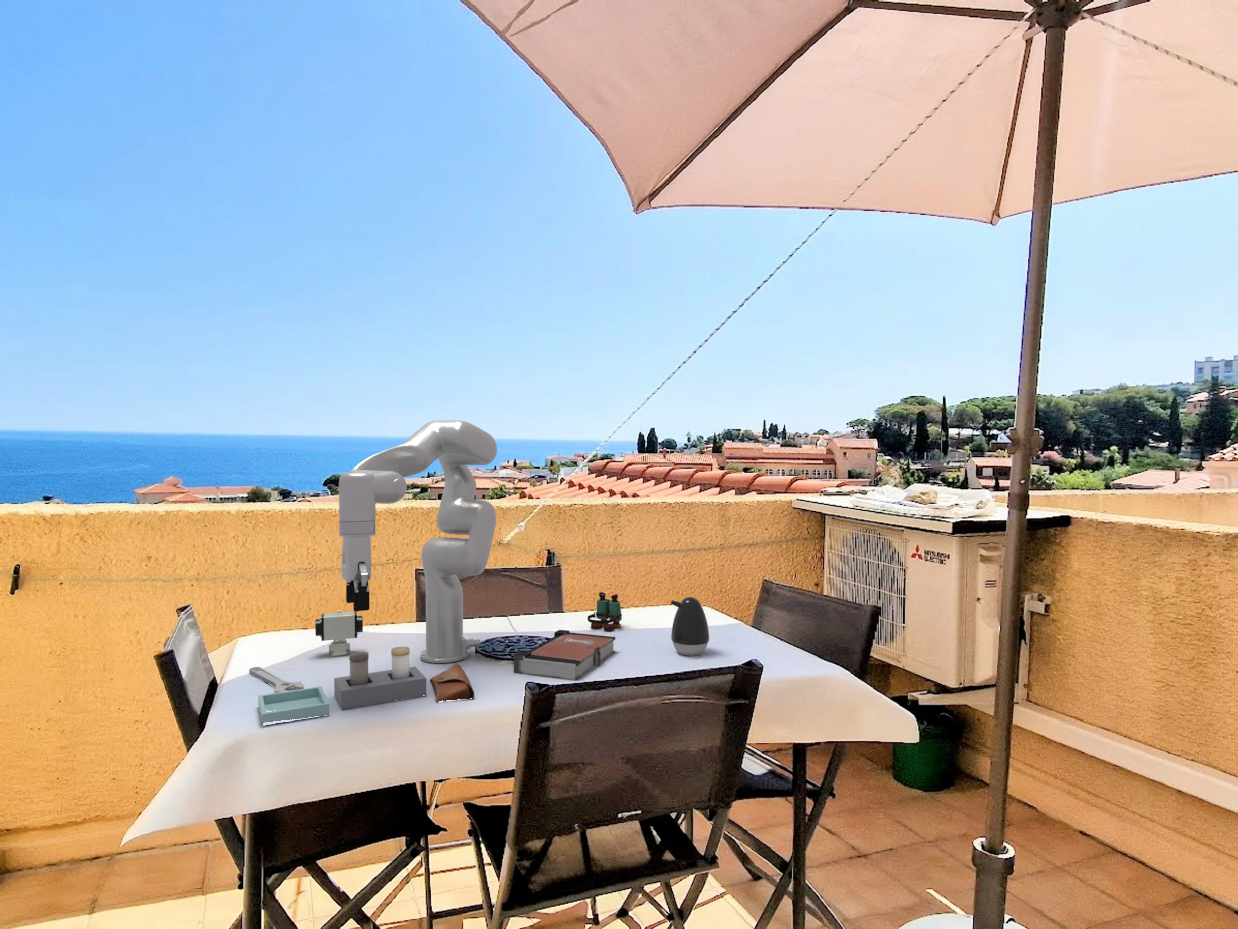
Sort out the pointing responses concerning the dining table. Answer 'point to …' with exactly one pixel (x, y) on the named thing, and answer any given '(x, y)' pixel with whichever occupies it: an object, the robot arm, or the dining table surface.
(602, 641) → the book
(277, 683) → the adjustable wrench
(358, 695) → the block
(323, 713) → the parts tray
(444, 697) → the sunglasses case
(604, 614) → the green twin tank jetpack
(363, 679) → the cylinder
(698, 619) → the pump dispenser
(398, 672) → the cylinder
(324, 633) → the pneumatic valve
